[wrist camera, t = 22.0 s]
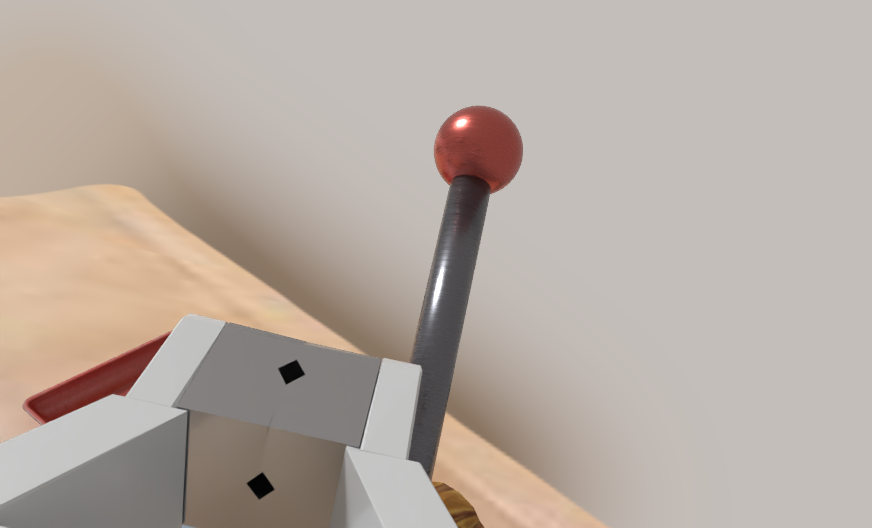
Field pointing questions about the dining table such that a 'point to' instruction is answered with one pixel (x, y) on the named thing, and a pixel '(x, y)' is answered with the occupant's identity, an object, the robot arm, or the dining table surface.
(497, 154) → the lever
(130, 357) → the plant saucer
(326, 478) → the robot arm
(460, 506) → the croissant
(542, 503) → the dining table surface
